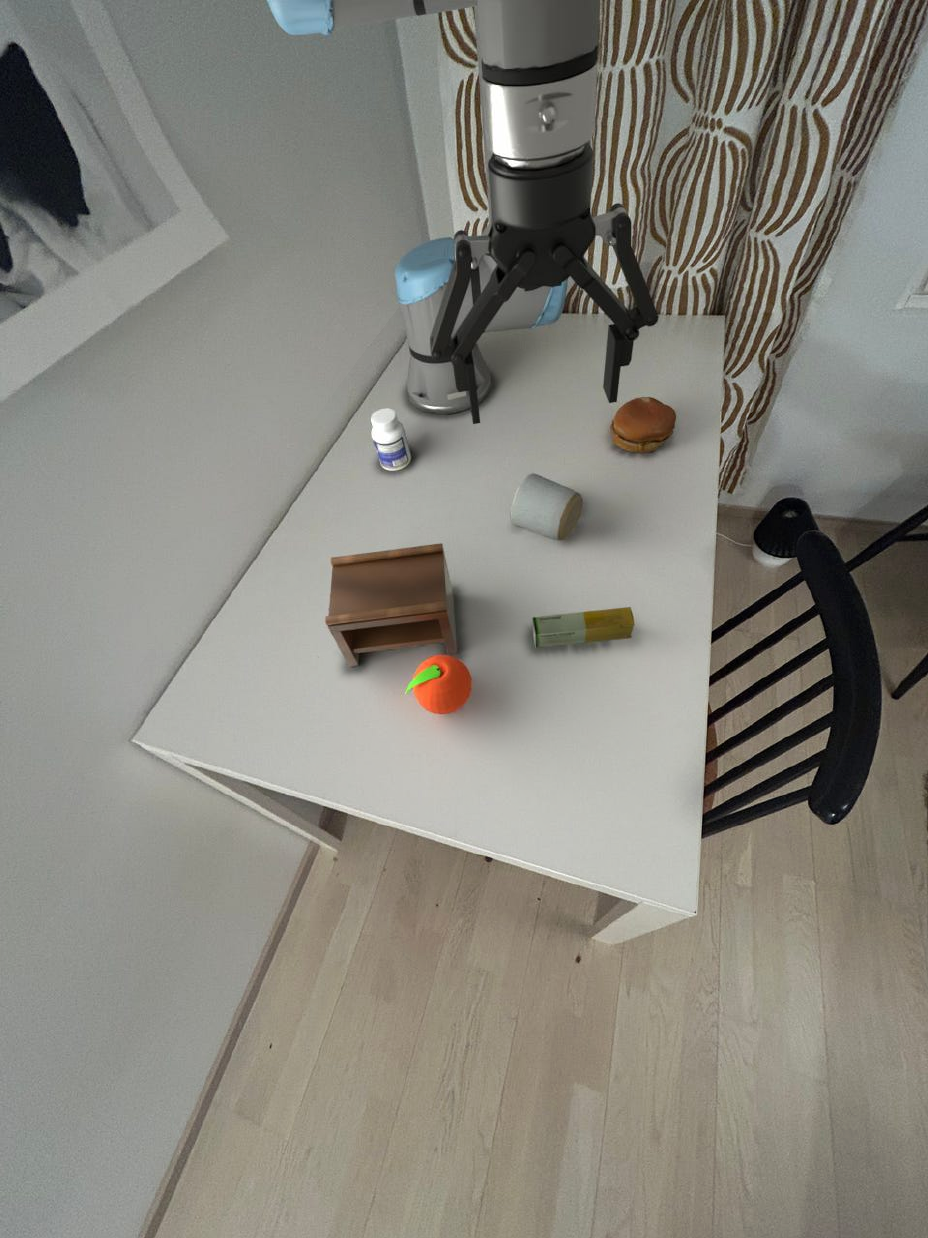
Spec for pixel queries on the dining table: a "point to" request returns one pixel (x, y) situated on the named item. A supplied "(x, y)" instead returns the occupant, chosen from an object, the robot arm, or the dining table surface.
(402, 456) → the pill bottle
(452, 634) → the stand
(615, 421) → the burger
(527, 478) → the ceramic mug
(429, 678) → the clementine
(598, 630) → the medication box
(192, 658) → the dining table surface
